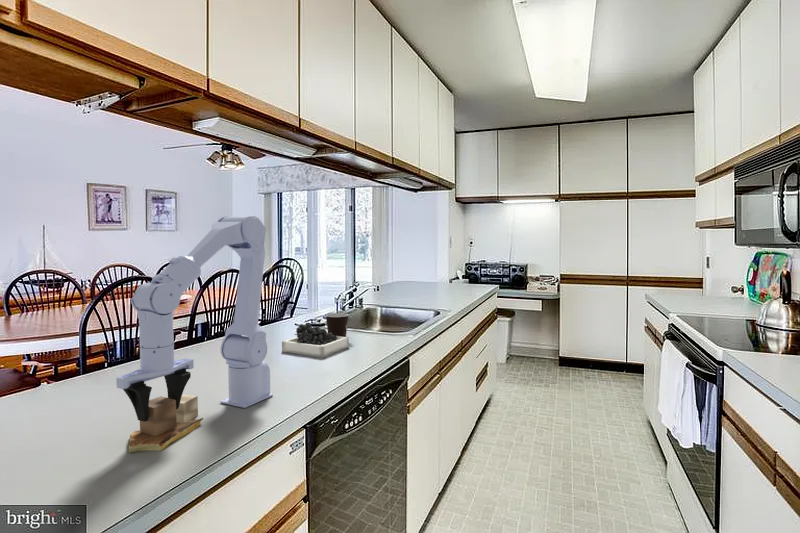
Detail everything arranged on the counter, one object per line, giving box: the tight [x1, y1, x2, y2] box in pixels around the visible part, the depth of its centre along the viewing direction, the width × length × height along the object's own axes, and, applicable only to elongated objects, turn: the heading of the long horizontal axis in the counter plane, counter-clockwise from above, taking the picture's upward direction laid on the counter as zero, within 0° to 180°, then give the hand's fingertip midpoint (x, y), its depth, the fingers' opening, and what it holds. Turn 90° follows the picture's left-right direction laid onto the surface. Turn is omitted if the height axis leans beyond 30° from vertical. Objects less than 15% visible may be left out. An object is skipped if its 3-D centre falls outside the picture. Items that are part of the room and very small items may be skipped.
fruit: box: [294, 323, 337, 345], centre depth 154 cm, size 9×8×15 cm
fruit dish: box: [281, 335, 350, 358], centre depth 154 cm, size 16×17×4 cm
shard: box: [128, 417, 204, 453], centre depth 84 cm, size 13×9×2 cm
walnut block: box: [139, 396, 177, 436], centre depth 85 cm, size 4×4×6 cm
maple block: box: [176, 394, 199, 423], centre depth 94 cm, size 4×4×4 cm
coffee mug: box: [325, 312, 349, 337], centre depth 169 cm, size 12×9×10 cm
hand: (158, 414), depth 85 cm, fingers open, 6 cm apart
